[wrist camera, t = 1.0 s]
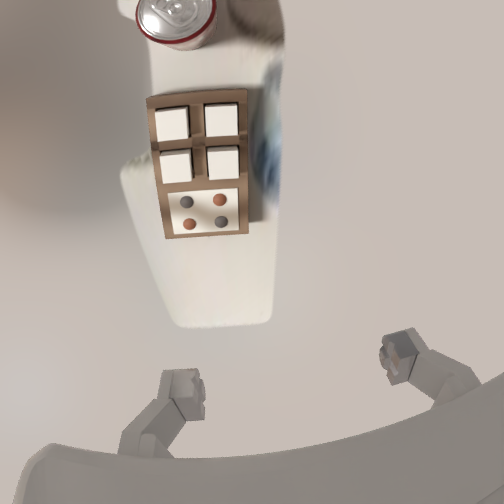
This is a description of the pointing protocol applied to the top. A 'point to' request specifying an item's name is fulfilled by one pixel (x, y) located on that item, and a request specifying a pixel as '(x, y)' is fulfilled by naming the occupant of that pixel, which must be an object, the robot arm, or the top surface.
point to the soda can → (177, 22)
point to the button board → (202, 169)
